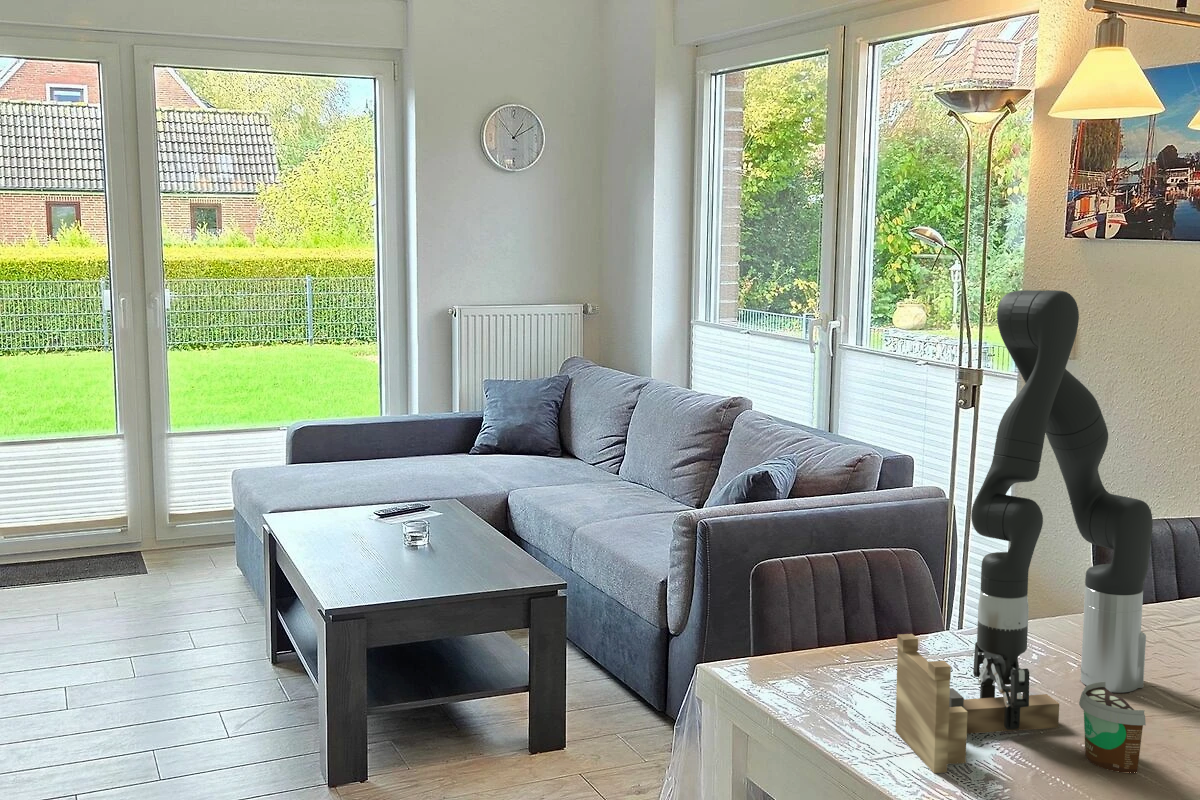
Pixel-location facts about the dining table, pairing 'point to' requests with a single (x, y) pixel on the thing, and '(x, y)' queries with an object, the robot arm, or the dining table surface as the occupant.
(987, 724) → the rail
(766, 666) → the dining table surface
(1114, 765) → the food container
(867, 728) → the dining table surface
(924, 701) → the wooden post stand
